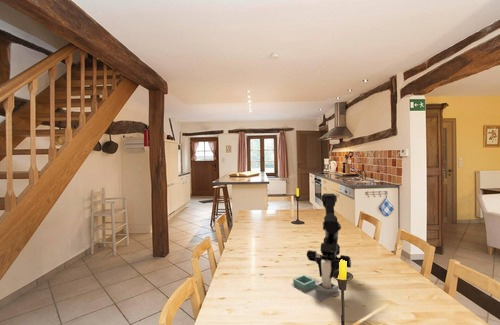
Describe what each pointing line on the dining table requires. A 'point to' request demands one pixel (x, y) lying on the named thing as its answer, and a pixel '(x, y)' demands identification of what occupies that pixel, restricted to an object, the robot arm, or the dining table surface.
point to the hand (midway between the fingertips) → (325, 277)
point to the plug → (326, 274)
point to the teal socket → (301, 285)
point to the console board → (315, 293)
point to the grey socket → (324, 291)
